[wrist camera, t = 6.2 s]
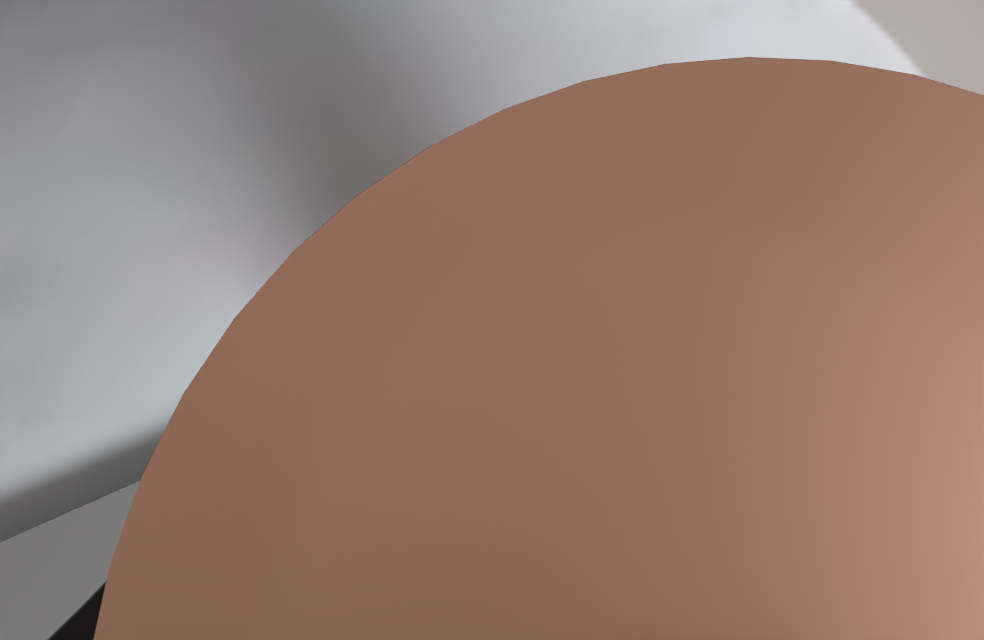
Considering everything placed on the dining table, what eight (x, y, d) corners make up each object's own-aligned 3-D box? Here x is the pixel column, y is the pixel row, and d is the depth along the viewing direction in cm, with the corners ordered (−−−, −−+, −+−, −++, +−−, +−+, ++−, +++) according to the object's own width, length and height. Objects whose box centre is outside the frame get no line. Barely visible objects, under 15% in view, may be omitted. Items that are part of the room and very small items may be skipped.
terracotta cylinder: (714, 551, 16) (1774, 1115, 3) (469, 666, 15) (425, 1888, 3) (600, 309, 16) (1069, -131, 3) (362, 415, 16) (-120, 374, 3)
